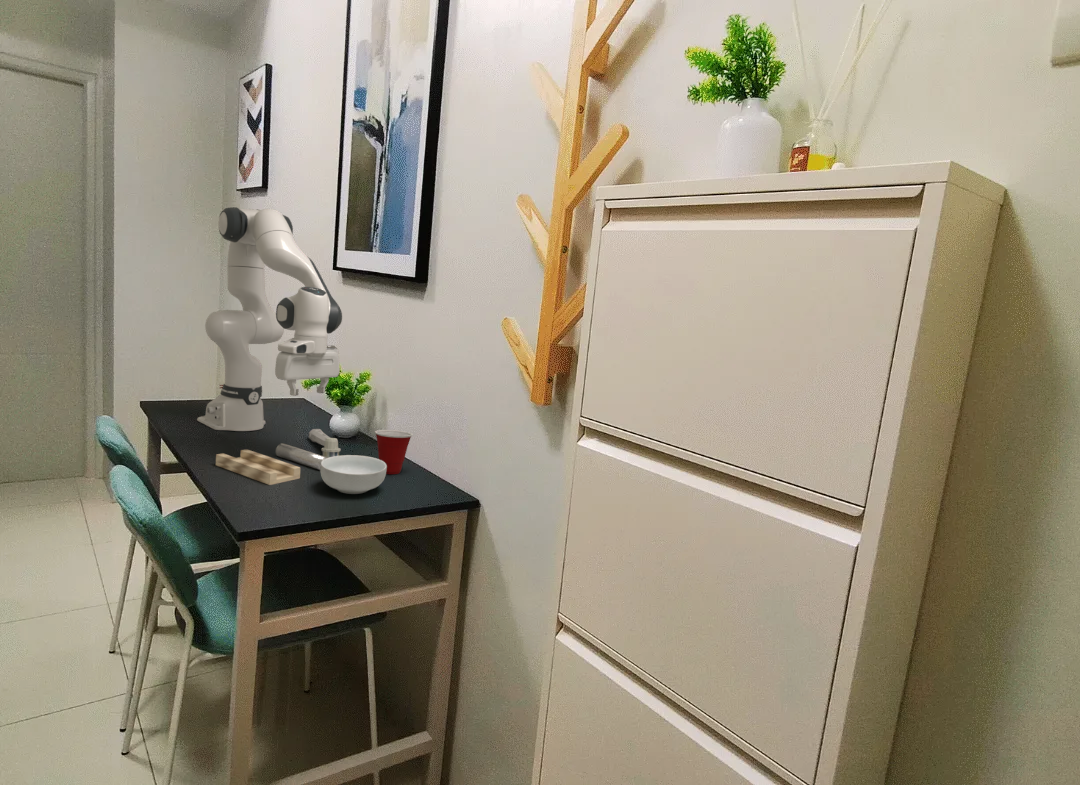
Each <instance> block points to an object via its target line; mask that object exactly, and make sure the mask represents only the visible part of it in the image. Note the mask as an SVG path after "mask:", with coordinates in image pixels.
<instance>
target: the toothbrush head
mask: <svg viewBox="0 0 1080 785" xmlns="http://www.w3.org/2000/svg"><path fill="white" fill-rule="evenodd" d="M308 438H309V439H310V440H311V441H312V442H313V443H317V444H318V445H321V446H323V447H322V448H321V452H322V456H325V457H328V458H329V457H334V456H340V452H341V448H339V441H338V438H335V437H330V436H328V435H327V434H326V433H325V432H323V431H322V429H320V428H312V429H311V430H309V431H308Z"/></svg>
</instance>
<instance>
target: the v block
mask: <svg viewBox="0 0 1080 785" xmlns="http://www.w3.org/2000/svg"><path fill="white" fill-rule="evenodd" d="M215 466H217V467H219V468H223V469H225V470H227V471H231V472H233V473H236V474H239V475H241V476H244V477H247V478H249V479H252V480H255V481H258V482H260V483H262V484H266V485H269V486H272V485H277V484H280V483H286V482H289V481H290V482H291V481H293V480H298V479H300V478H301V467H300V466H297V465H294V464H292V463H289V462H286V461H282V460H280V459H276V458H274V457H271V456H268V455H265V454H262V453H259V452H256V451H254V450H253V451H252V450H250V449H240V455H239V457H235V456H231V455H229V454H226V453H223V452H222V453H218V454H217V453H216V454H215Z"/></svg>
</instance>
